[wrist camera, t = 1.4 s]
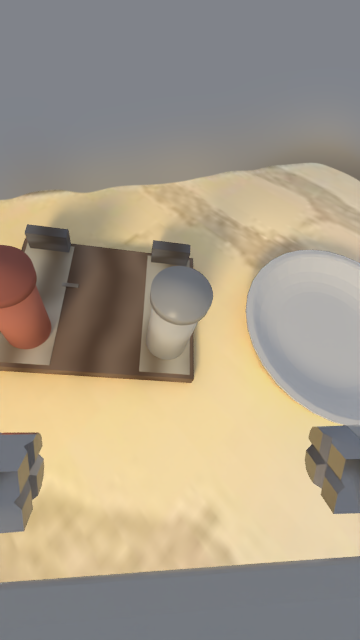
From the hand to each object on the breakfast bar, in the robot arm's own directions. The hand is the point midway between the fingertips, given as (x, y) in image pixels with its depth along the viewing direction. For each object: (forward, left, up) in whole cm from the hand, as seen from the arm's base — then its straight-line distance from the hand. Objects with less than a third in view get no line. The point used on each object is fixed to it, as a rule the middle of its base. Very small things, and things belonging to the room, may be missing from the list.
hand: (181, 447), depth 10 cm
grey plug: (+2, +15, -26) cm, 30 cm away
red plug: (-14, +15, -26) cm, 33 cm away
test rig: (-6, +20, -28) cm, 34 cm away
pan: (+26, +13, -28) cm, 41 cm away
